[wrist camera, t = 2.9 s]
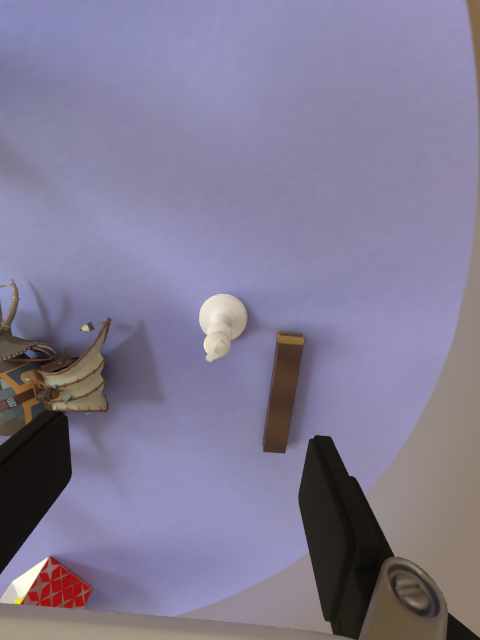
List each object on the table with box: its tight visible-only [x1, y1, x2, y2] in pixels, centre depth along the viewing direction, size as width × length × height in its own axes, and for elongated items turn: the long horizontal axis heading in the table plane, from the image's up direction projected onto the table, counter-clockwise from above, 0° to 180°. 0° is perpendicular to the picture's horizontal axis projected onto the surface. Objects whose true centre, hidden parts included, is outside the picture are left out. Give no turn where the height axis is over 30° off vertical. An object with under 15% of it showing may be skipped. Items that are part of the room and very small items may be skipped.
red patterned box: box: [0, 556, 92, 609], centre depth 34 cm, size 8×8×8 cm
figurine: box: [0, 279, 111, 436], centre depth 26 cm, size 20×6×17 cm
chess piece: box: [199, 294, 248, 362], centre depth 23 cm, size 5×5×10 cm
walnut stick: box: [263, 332, 305, 453], centre depth 29 cm, size 14×3×1 cm, turn 175°
